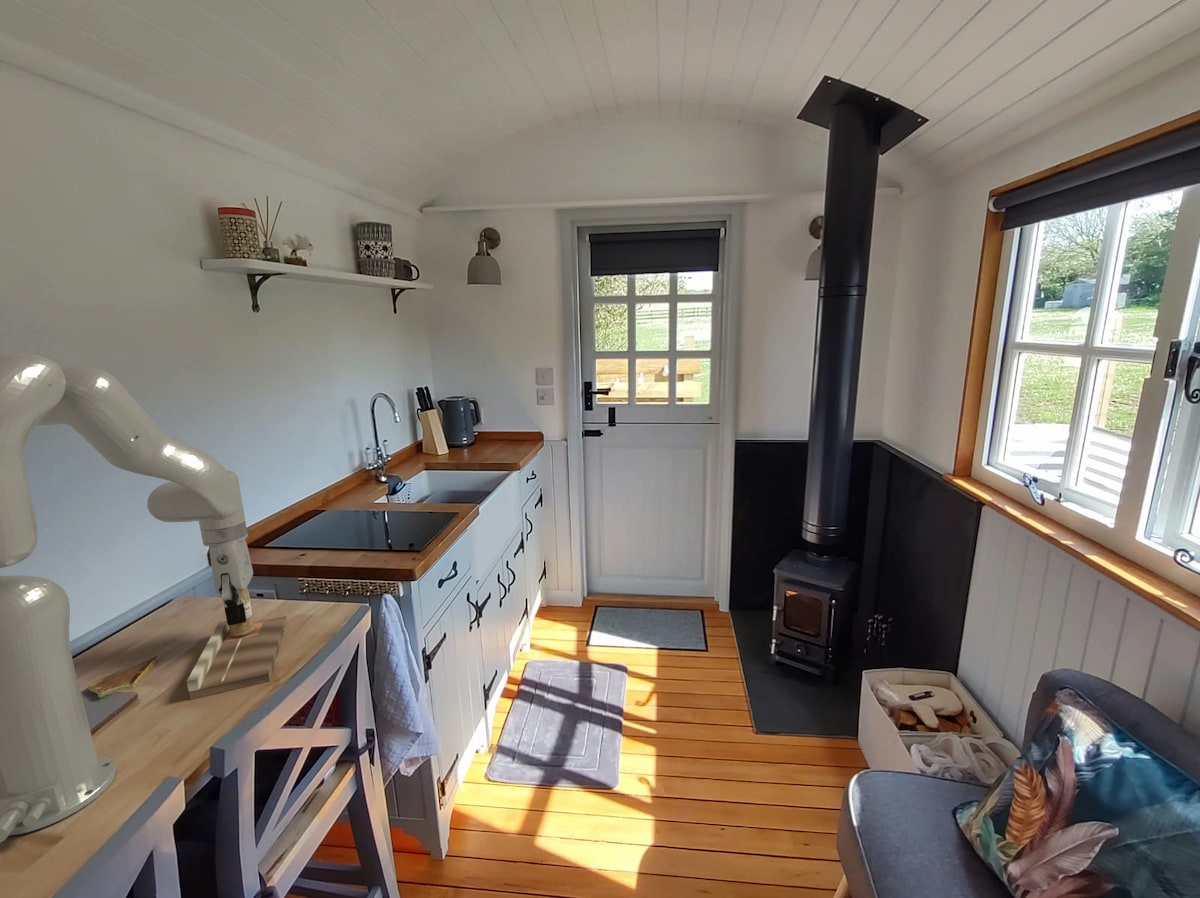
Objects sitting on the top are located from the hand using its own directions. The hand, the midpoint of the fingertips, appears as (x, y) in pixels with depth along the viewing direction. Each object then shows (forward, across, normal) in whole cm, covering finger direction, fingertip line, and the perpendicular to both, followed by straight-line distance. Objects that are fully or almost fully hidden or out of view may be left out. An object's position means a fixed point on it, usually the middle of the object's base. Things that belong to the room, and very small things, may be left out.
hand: (239, 617), depth 115 cm
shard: (+6, -6, +19) cm, 21 cm away
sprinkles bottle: (+4, 0, 0) cm, 4 cm away
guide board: (+5, -7, -1) cm, 9 cm away
